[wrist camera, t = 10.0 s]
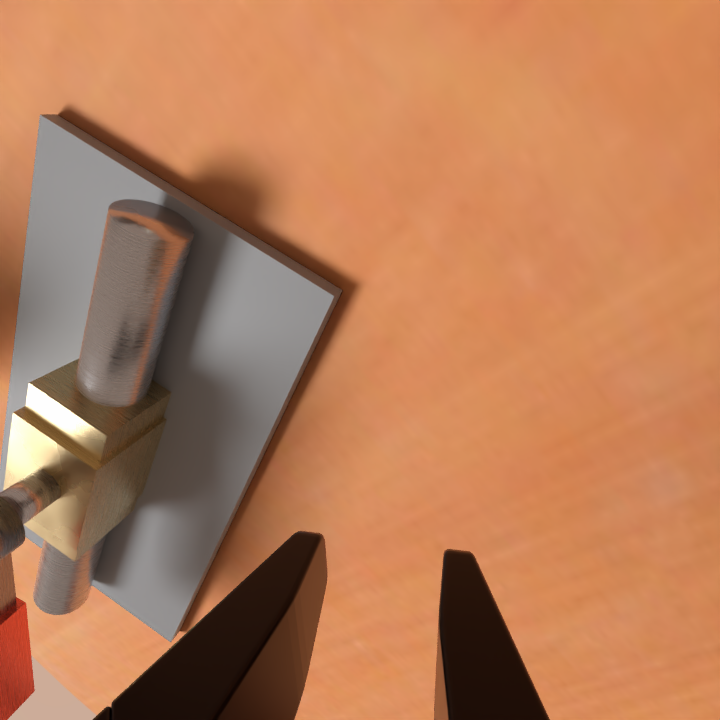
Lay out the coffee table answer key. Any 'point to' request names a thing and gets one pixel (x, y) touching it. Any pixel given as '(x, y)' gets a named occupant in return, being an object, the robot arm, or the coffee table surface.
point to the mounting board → (167, 361)
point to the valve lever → (12, 620)
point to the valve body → (99, 406)
